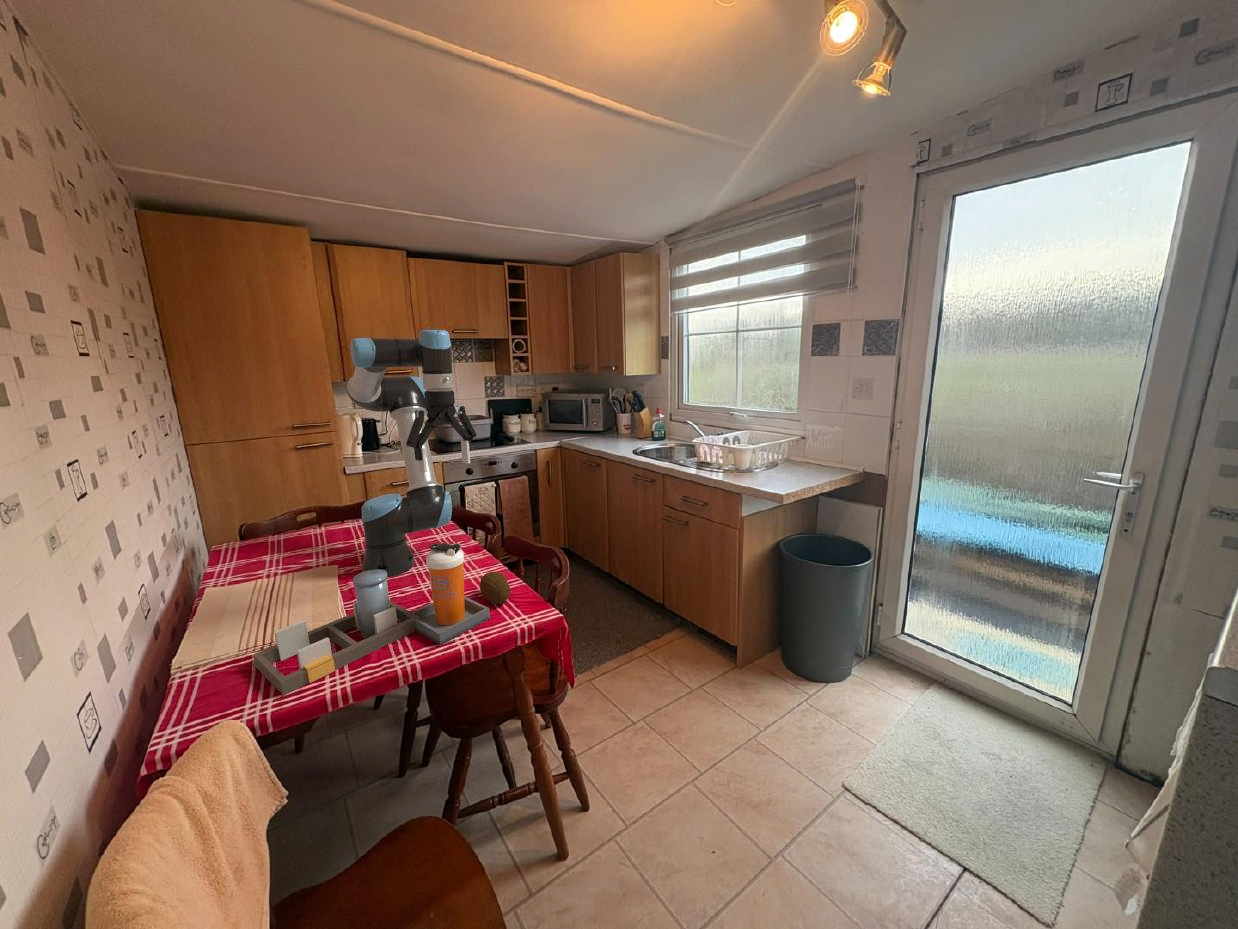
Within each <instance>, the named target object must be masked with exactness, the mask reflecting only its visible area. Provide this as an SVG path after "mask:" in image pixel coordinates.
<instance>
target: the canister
mask: <svg viewBox="0 0 1238 929" xmlns="http://www.w3.org/2000/svg"><path fill="white" fill-rule="evenodd" d="M352 583H353V586H354V591H355V597H356V598H355V600H356V601H357V607H358V614H359V621H360V629H359V630H360V634H361V637H362V638H364V639H367V638H369V637H371V636H373V635H375V626H374V619H373V615H375V614H377V613H380V612H382V611H384V610H387V609H389V608H390V602H389V600H390V596H389V587H388V577H387V572H386V571H384V570H378V569H377V570H369V571H365V572H363V571H362V572H360V573H358V574H356V575H355V576H353V578H352Z"/></svg>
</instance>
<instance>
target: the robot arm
mask: <svg viewBox="0 0 1238 929" xmlns="http://www.w3.org/2000/svg"><path fill="white" fill-rule="evenodd" d="M418 335H419V336H418V338H389V337H388V338H385V337H384V338H383V337H381V338H380V337H377V338H376V337H358V338H357V337H356V338H353V339H351V341H350V345H349V346H350V348H349V349H350V356H351V362H352V364H353V366H354V373H353V376H351V377H350V378H349V380H348V381H347V385H346V392H347V395H348V398H349V399H350V400H351V401H352V402H353V403H354V405H356V406H358V407H359V408H361V409H364V410H367V411H370V412H377V413H378V412H379V413H381V412H383V413H384V412H389V416H390V418H391V419H393V420H394V421H396V426H397V431H398V436H399V439H400V445H401V451H402V456H403V460H404V466H405V470H406V476H407V481H408V485H409V487H408V489H407V490H406V491H405V497H402V495H401V494H399V493H391V494H390V493H387V494H382V495H379V496H376V497H373V498H371V499H368V500H366V501H365V502H364V503H363V504H362V506H361V521H362V525H363V533H364V534H363V536H364V543H365V550H364V551H365V552H364V555H363V559H362V563H361V566H362V567H361V568H362V572H365V571H369V570H377V569H378V570H384V571H386V572H387V578H388V577H393V576H397V575H399V574H402V573H404V572H408V571H409V570H410V569H412V568H413V566H415V557H414V554H413V552H412V551H411V549H410V547H409V544H408V543H407V538H406V536H407V534H412V533H416V532H421V531H426V530H431V529H437V528H441V527H445V526H447V525H448V524H449V523H450V522H451V519H452V512H453V503H452V502H453V501H452V496H451V493H450V492H449V491H448V490H444V488H443V485H442V484H440V483H439V482H438V481H437V478H436V473H435V469H434V463H433V458H432V453H431V450H430V445H429V444H430V443H429V439H428V438H429V436H430V435H431V433H432V431H434V429H435V428H436V427H437V426H443V425H449V426H451V427H452V428H453V429H454V430H455V432H456V433H457V434H458V435H459V436H460V437H461V438H462V440H460V451H461V461H462V464H471V453H470V452H471V451H472V441H473V440H474V438H477V435H478V434H477V433H476V431H475V429H474V426H473V424H472V422H471V421H470V419H469V417H468V415H467V412H466V408H465V406H463V405H456V406H455V403H456V402H455V401H456V398H455V391H454V390H453V388H454V377H453V375H454V374H453V363H452V362H453V361H452V349H451V346H452V343H451V339H450V338H451V337H450V333H449V332H448V331H447V330H443V329H423V330H420V331H419V332H418ZM411 367H412V368H417V367H419V368H421V370H422V378H421V377H419V376H412V375H404V376H400V375H399V376H385V374H386V371H387V369H388V368H411ZM455 415H457V418H458V419H459V420H458V419H457V418H456V416H455ZM426 418H427V419H426ZM425 419H426V421H425ZM459 421H460V422H461V424H462V425H461V424H460V422H459Z"/></svg>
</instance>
